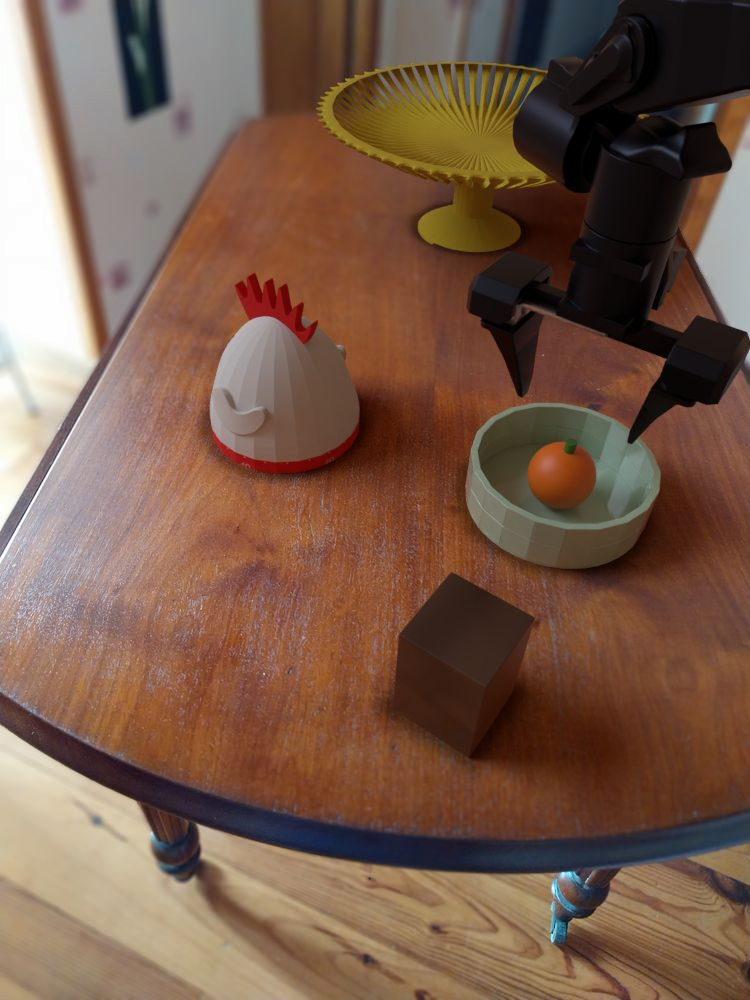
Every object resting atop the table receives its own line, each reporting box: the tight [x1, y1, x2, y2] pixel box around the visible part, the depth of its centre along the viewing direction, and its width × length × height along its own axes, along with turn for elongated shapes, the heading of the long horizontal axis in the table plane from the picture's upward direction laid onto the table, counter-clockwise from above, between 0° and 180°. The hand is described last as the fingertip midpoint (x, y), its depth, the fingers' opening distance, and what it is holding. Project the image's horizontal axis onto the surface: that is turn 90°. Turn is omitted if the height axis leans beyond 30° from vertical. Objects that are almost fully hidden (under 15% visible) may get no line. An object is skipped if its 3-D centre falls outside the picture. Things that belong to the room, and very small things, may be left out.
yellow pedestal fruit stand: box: [315, 60, 650, 253], centre depth 95 cm, size 40×40×15 cm
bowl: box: [464, 402, 662, 570], centre depth 63 cm, size 15×15×5 cm
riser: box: [392, 571, 536, 759], centre depth 48 cm, size 6×6×9 cm
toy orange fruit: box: [527, 439, 597, 509], centre depth 62 cm, size 6×6×6 cm
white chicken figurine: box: [209, 272, 361, 474], centre depth 66 cm, size 14×14×15 cm
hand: (575, 416), depth 58 cm, fingers open, 9 cm apart
